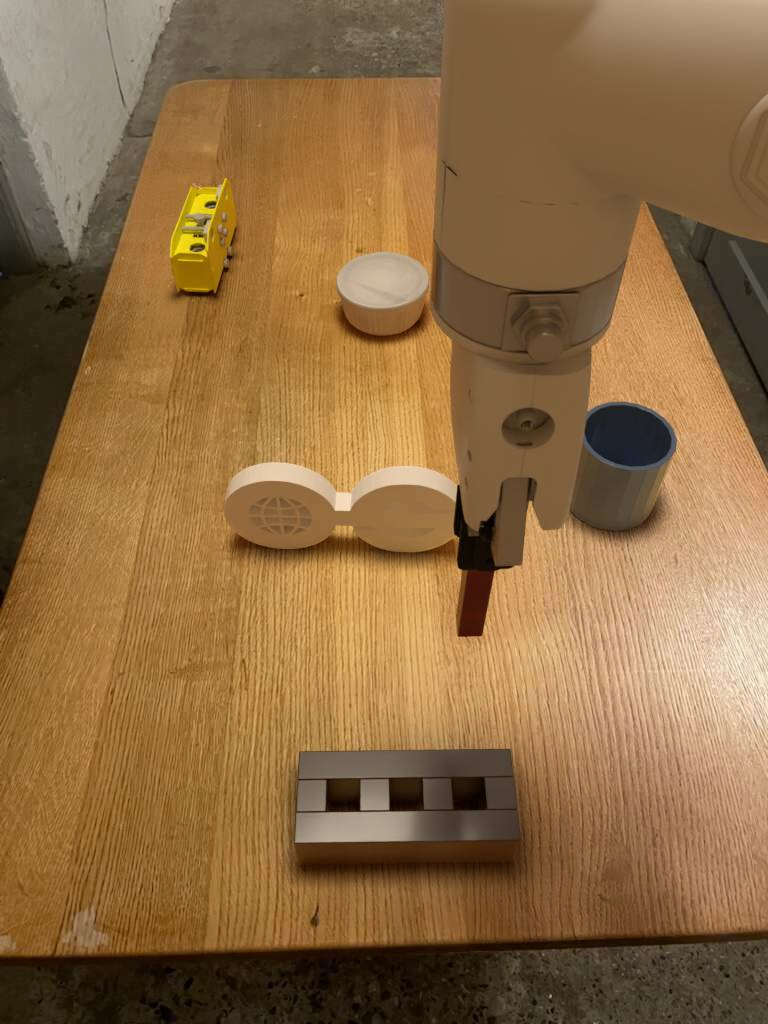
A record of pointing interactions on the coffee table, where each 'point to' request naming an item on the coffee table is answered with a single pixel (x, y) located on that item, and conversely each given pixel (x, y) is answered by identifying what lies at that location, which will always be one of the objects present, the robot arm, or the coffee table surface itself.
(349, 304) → the ramekin
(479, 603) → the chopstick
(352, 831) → the holder
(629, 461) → the cup
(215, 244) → the yellow toy chassis
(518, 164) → the robot arm
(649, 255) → the coffee table surface
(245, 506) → the contact lens case
